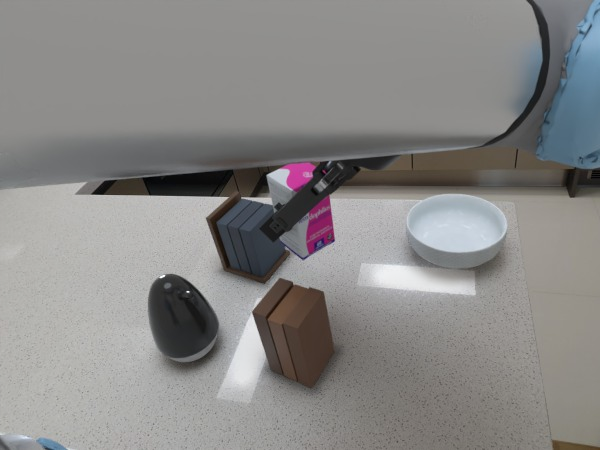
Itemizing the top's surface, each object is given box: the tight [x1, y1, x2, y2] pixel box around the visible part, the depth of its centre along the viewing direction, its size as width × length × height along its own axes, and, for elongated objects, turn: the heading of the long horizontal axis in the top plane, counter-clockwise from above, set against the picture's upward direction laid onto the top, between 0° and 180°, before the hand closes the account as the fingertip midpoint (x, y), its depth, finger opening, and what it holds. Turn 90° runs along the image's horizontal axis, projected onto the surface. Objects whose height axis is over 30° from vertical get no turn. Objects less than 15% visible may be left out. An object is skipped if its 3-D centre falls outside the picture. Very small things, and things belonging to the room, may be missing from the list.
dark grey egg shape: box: [147, 273, 220, 363], centre depth 71 cm, size 10×10×15 cm
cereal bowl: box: [405, 193, 509, 270], centre depth 81 cm, size 17×17×7 cm
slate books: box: [205, 190, 291, 284], centre depth 86 cm, size 9×10×13 cm
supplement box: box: [266, 163, 336, 261], centre depth 61 cm, size 6×6×12 cm
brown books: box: [251, 277, 336, 389], centre depth 66 cm, size 7×7×13 cm
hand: (283, 217), depth 64 cm, fingers closed on supplement box, 7 cm apart
